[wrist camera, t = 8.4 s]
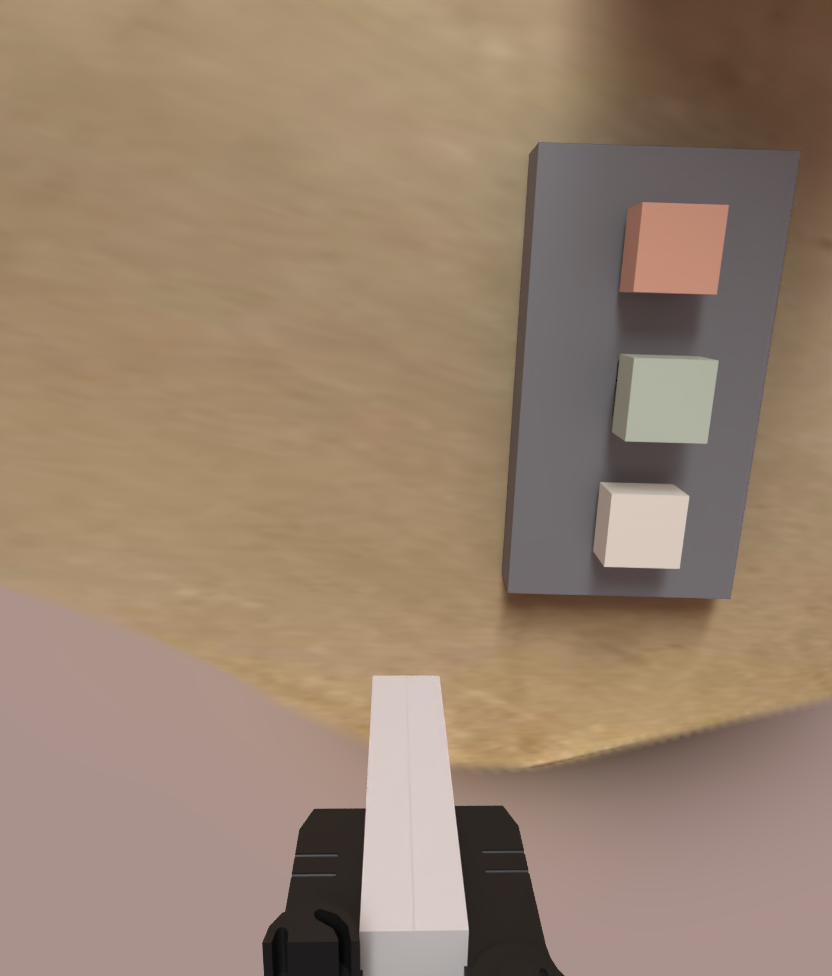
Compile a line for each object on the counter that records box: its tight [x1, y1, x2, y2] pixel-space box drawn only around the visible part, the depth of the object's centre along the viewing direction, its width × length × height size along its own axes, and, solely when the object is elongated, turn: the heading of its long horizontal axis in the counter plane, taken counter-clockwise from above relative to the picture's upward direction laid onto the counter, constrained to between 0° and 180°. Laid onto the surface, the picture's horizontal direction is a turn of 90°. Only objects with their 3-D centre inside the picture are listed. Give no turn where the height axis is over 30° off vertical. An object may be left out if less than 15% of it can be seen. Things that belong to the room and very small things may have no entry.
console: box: [502, 142, 801, 599], centre depth 40 cm, size 13×24×3 cm, turn 178°
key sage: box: [612, 354, 719, 444], centre depth 37 cm, size 4×4×5 cm
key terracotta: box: [619, 202, 729, 295], centre depth 36 cm, size 4×4×5 cm
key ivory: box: [593, 482, 689, 569], centre depth 40 cm, size 4×4×5 cm
